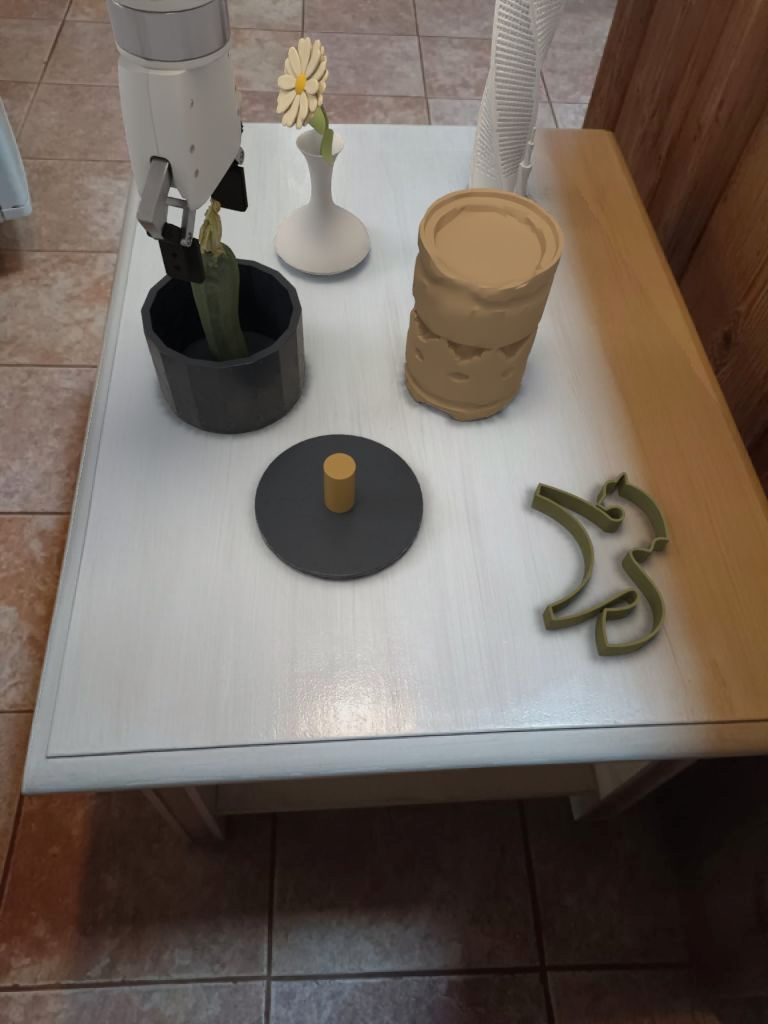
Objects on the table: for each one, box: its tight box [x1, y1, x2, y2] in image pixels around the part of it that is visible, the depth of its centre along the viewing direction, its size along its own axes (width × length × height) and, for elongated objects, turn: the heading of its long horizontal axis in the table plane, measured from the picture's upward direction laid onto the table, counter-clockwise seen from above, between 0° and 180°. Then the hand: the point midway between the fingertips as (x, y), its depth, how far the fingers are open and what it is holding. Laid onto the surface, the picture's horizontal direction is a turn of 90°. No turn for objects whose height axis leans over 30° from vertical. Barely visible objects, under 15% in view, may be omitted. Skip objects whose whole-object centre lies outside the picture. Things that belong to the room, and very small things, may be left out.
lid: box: [254, 433, 424, 579], centre depth 65 cm, size 16×16×7 cm
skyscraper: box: [468, 0, 567, 197], centre depth 82 cm, size 8×8×28 cm
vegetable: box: [191, 198, 250, 362], centre depth 67 cm, size 4×4×20 cm
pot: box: [140, 257, 306, 435], centre depth 72 cm, size 15×15×10 cm
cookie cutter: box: [530, 471, 670, 657], centre depth 65 cm, size 18×12×2 cm, turn 178°
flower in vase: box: [273, 36, 371, 276], centre depth 76 cm, size 13×11×25 cm
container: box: [404, 188, 565, 422], centre depth 70 cm, size 13×13×18 cm
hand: (209, 241), depth 61 cm, fingers open, 9 cm apart
